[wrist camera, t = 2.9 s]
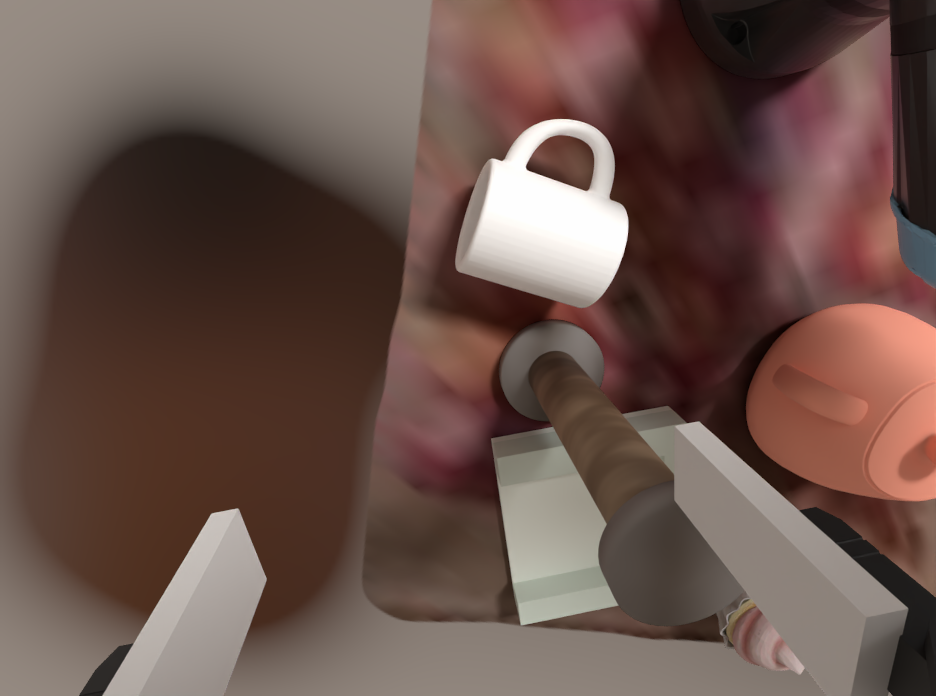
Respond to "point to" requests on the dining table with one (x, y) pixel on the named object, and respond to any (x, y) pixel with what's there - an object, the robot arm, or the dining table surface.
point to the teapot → (851, 402)
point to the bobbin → (617, 479)
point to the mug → (545, 223)
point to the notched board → (560, 518)
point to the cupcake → (755, 636)
